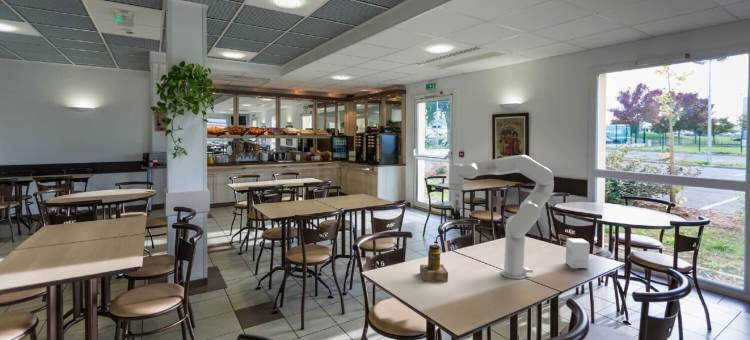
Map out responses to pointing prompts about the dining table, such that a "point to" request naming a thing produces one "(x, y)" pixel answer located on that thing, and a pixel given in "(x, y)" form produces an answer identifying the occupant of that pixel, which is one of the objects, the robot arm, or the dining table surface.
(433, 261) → the condiment
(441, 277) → the riser
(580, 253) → the supplement box
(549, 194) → the robot arm
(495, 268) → the dining table surface
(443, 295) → the dining table surface
